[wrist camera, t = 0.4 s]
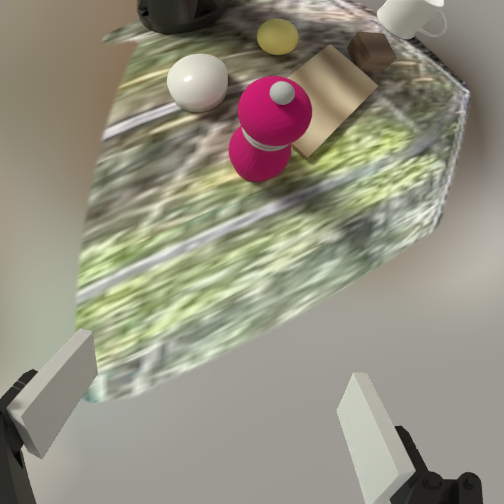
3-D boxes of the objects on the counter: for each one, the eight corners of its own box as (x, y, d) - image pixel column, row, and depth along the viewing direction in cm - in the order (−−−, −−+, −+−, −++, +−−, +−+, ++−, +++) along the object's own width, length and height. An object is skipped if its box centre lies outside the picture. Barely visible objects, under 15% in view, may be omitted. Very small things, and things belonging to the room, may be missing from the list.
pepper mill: (220, 144, 37) (215, 62, 18) (270, 127, 38) (307, 40, 18) (240, 194, 38) (255, 149, 18) (291, 174, 38) (351, 119, 18)
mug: (432, 45, 39) (464, 17, 28) (413, 57, 39) (448, 26, 27) (390, 4, 38) (416, -29, 26) (368, 13, 38) (394, -24, 26)
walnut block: (346, 47, 38) (357, 31, 33) (371, 48, 39) (383, 33, 34) (357, 71, 39) (370, 56, 34) (382, 71, 39) (396, 58, 34)
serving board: (327, 48, 38) (330, 44, 37) (375, 89, 39) (378, 86, 38) (250, 111, 38) (251, 108, 36) (305, 160, 38) (307, 158, 37)
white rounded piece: (177, 65, 36) (173, 53, 33) (230, 68, 37) (231, 55, 34) (166, 111, 37) (161, 101, 33) (223, 114, 37) (223, 104, 34)
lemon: (256, 31, 37) (260, 8, 31) (294, 37, 37) (303, 15, 31) (253, 59, 37) (257, 36, 31) (293, 65, 38) (302, 43, 32)
